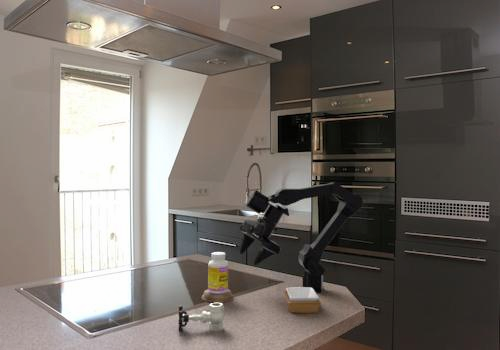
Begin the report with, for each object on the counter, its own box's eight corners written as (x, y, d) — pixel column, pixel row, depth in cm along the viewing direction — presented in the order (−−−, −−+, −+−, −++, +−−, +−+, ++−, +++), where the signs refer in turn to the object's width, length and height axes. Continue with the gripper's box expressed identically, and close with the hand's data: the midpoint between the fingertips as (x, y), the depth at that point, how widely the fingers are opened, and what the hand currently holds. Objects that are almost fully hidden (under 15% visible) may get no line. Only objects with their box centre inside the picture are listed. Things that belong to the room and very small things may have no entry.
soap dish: (321, 314, 122) (321, 297, 122) (288, 315, 121) (288, 298, 121) (313, 301, 134) (313, 286, 134) (283, 301, 134) (283, 286, 134)
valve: (222, 324, 114) (178, 326, 112) (223, 300, 113) (179, 302, 112) (225, 333, 107) (178, 335, 105) (225, 308, 107) (178, 310, 105)
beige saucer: (237, 295, 140) (237, 289, 140) (225, 304, 130) (225, 298, 130) (210, 291, 143) (210, 286, 143) (196, 300, 133) (196, 294, 133)
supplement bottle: (219, 296, 132) (219, 256, 132) (203, 292, 136) (204, 253, 136) (232, 291, 137) (232, 252, 137) (217, 287, 141) (217, 250, 141)
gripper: (240, 203, 147) (218, 240, 146) (269, 221, 132) (245, 263, 131) (261, 215, 154) (240, 251, 153) (291, 233, 138) (268, 274, 138)
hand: (247, 259), depth 143 cm, fingers open, 9 cm apart
